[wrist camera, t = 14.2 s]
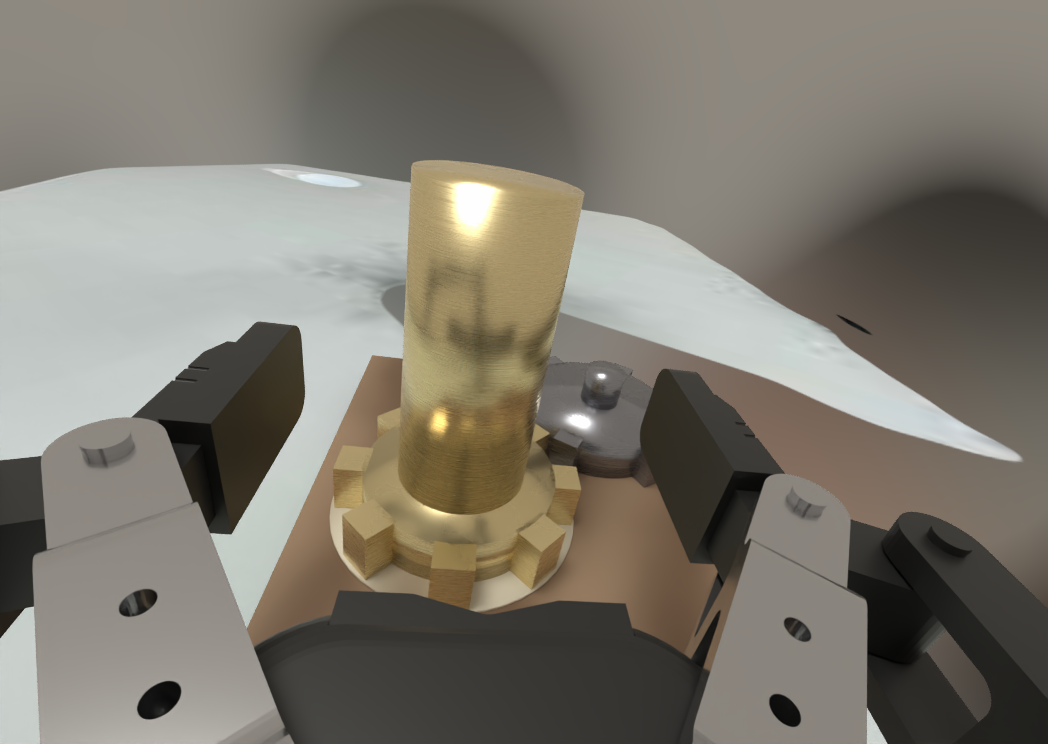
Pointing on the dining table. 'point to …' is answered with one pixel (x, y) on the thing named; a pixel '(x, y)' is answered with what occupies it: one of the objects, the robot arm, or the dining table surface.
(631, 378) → the gear
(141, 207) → the dining table surface
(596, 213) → the dining table surface
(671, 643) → the gear board
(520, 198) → the cylinder
